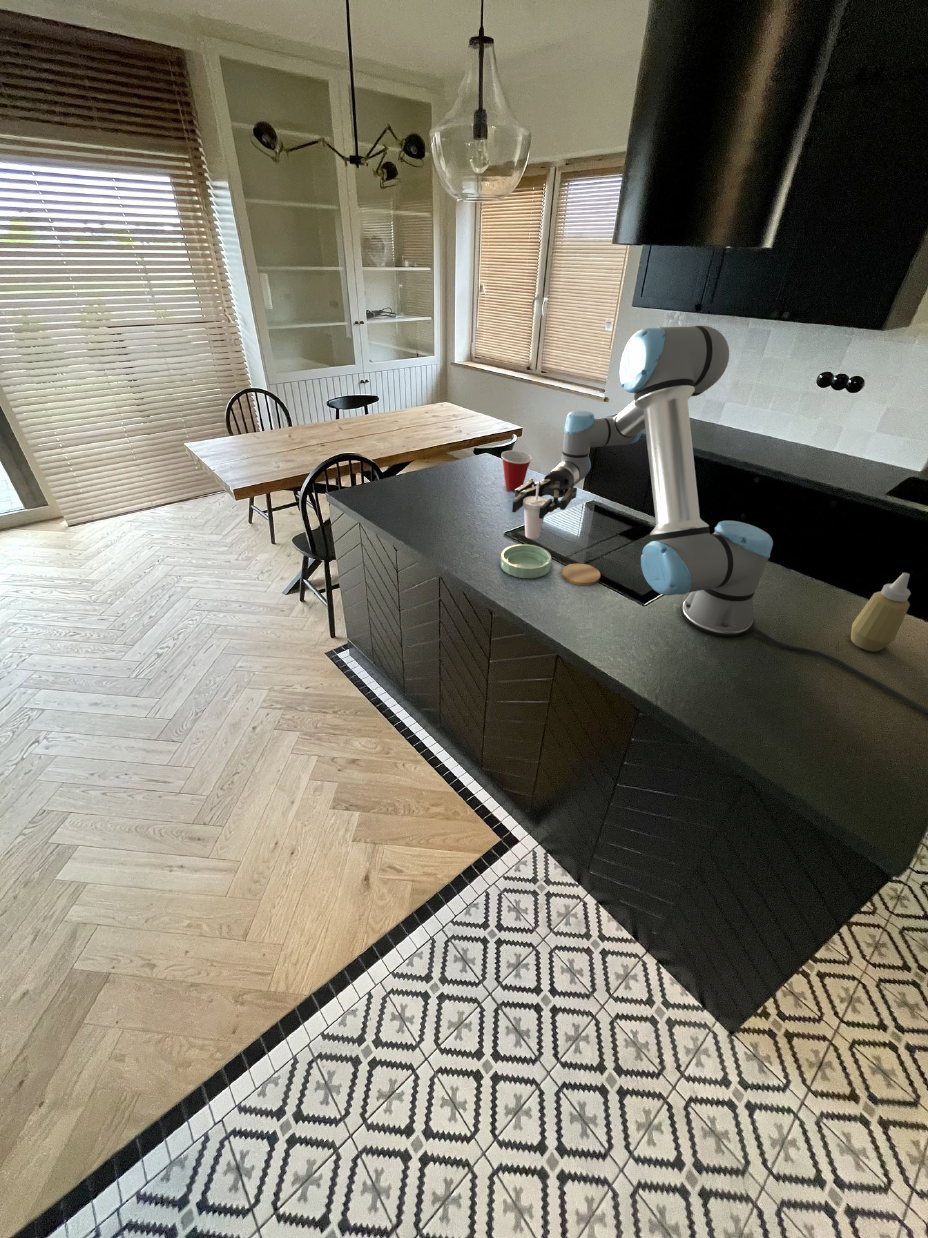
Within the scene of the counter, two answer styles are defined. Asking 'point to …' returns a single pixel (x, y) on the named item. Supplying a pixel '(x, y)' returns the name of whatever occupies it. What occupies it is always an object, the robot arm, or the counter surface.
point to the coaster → (581, 574)
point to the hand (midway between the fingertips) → (527, 510)
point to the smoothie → (533, 515)
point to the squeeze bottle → (882, 616)
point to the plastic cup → (515, 468)
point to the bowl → (525, 561)
